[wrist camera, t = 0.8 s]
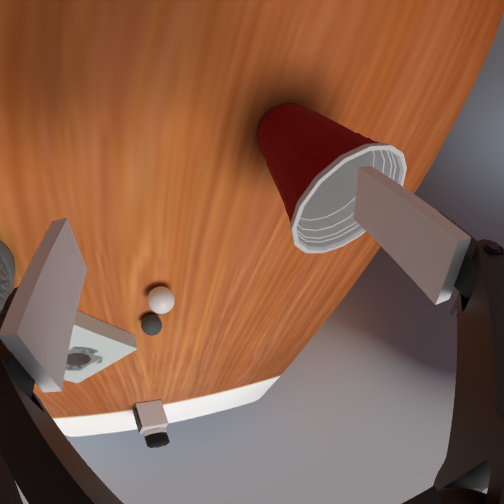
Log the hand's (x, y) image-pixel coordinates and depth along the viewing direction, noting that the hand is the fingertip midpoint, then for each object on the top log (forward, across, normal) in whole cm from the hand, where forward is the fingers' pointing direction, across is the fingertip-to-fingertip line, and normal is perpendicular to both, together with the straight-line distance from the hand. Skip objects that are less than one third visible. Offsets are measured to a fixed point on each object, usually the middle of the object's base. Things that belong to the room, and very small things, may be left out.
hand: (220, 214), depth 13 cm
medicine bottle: (+33, -24, -67) cm, 78 cm away
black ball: (+21, -10, -26) cm, 34 cm away
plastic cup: (+18, +9, -1) cm, 20 cm away
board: (+20, -25, -24) cm, 40 cm away
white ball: (+19, -7, -20) cm, 29 cm away
